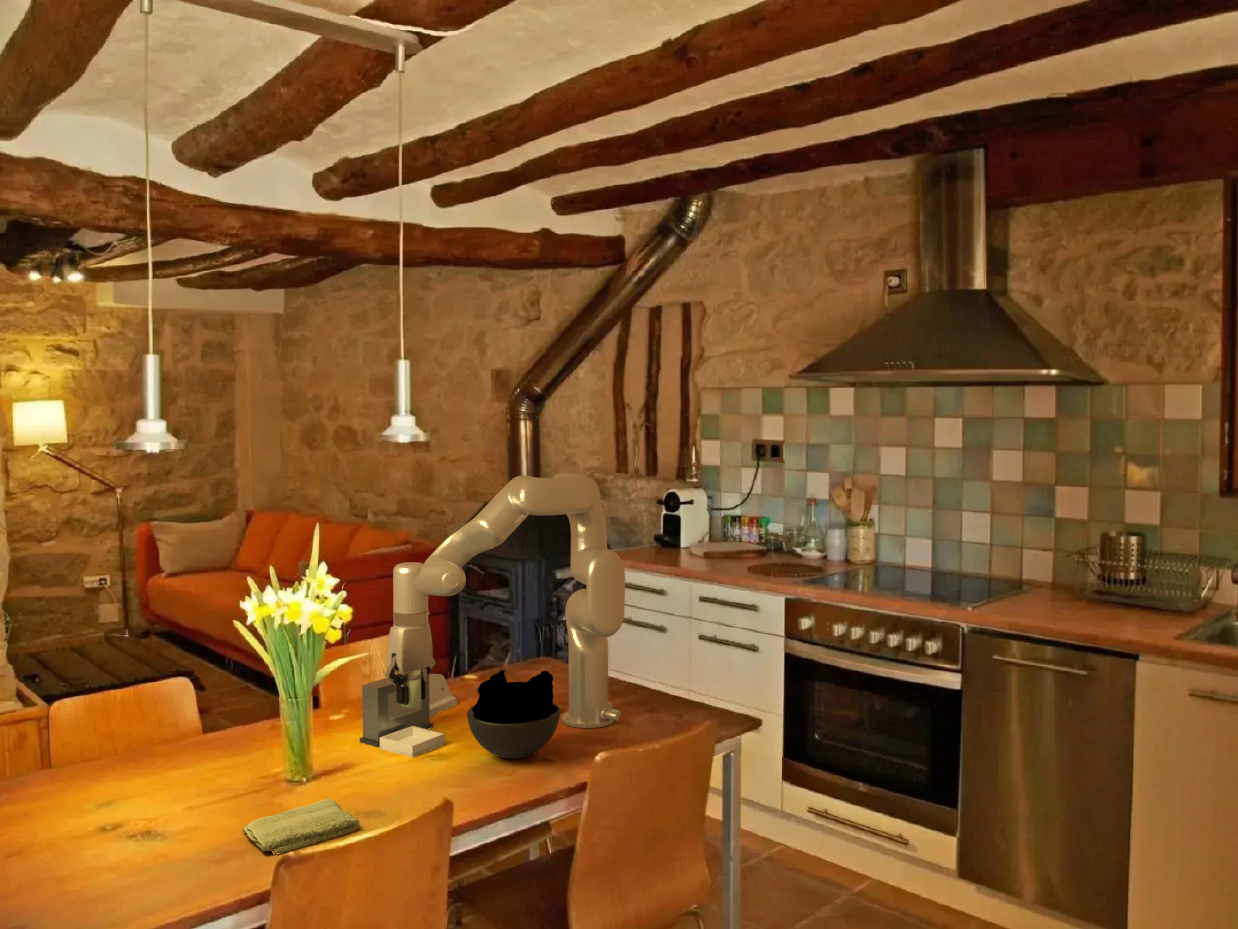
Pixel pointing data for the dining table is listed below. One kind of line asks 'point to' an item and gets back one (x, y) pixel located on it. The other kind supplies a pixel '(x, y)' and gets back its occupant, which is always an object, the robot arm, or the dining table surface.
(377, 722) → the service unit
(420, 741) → the parts tray
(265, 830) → the washcloth
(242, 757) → the dining table surface
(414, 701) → the olive green jar
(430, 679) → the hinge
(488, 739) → the coal bowl
